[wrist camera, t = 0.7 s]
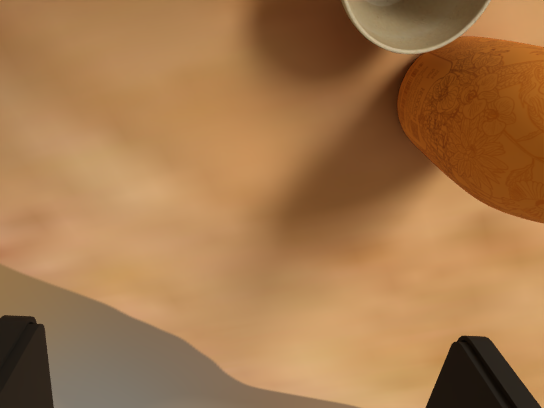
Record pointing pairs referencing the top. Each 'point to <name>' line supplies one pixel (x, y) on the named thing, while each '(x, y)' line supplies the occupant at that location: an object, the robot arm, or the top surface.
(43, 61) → the top surface
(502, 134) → the wine bottle
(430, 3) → the flower pot
